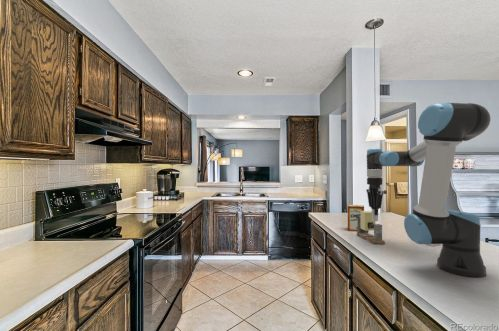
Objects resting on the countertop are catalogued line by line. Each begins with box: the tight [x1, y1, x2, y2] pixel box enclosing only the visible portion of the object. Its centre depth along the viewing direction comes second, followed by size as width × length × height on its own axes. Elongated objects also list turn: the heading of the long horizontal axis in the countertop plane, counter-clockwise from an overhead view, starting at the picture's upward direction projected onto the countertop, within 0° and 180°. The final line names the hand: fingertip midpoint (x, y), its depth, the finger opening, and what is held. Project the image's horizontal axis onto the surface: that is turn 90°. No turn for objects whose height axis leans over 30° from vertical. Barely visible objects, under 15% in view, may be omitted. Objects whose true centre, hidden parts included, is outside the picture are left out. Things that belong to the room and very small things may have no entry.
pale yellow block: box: [360, 210, 376, 232], centre depth 147 cm, size 5×6×10 cm
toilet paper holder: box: [356, 216, 386, 245], centre depth 145 cm, size 18×6×12 cm, turn 5°
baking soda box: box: [347, 204, 365, 233], centre depth 165 cm, size 10×6×16 cm
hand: (374, 220), depth 140 cm, fingers closed
